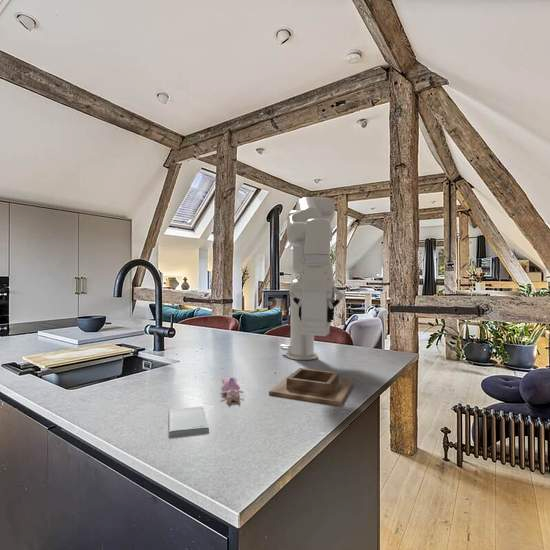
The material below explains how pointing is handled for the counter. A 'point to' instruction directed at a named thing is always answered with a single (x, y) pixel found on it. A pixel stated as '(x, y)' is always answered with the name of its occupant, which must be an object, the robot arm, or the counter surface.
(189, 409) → the hard drive
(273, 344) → the counter surface
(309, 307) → the supplement box
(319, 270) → the robot arm
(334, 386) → the walnut holder
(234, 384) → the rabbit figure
